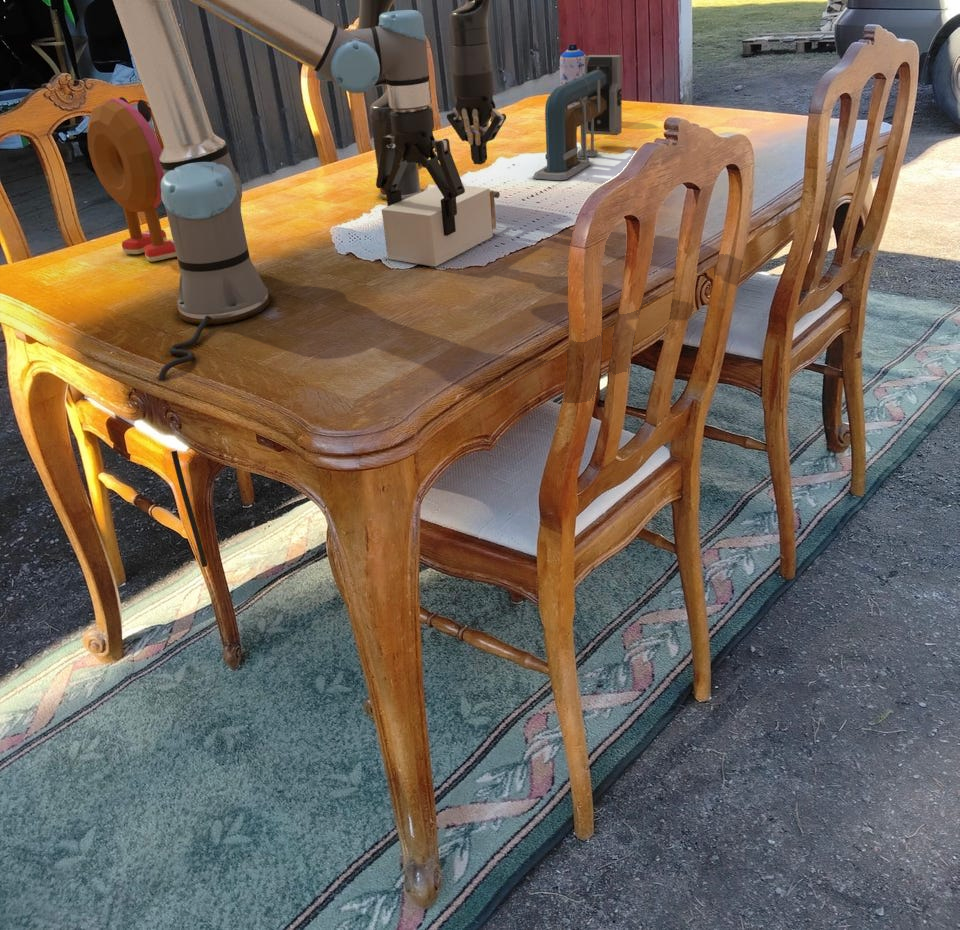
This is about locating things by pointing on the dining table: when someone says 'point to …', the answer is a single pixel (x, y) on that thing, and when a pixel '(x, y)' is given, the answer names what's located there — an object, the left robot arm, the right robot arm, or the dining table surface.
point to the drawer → (493, 206)
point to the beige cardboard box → (436, 226)
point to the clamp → (582, 116)
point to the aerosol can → (572, 66)
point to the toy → (130, 171)
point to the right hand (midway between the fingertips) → (479, 163)
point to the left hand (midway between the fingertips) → (423, 229)
